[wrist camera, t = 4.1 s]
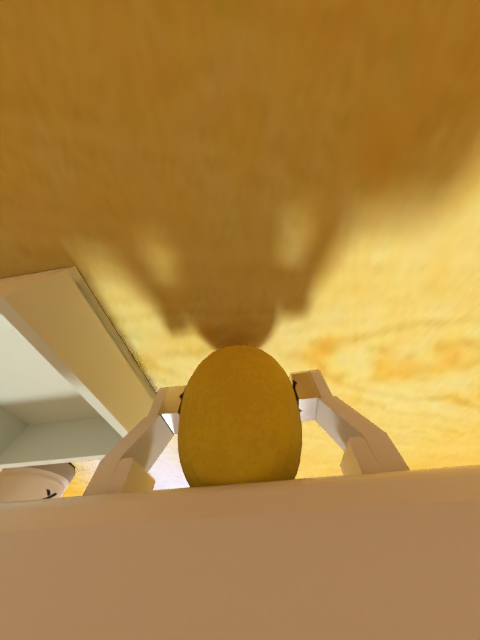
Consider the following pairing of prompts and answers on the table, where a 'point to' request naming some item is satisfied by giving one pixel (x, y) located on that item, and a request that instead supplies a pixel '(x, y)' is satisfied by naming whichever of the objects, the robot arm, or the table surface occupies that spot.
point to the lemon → (239, 420)
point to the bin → (63, 373)
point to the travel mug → (35, 482)
